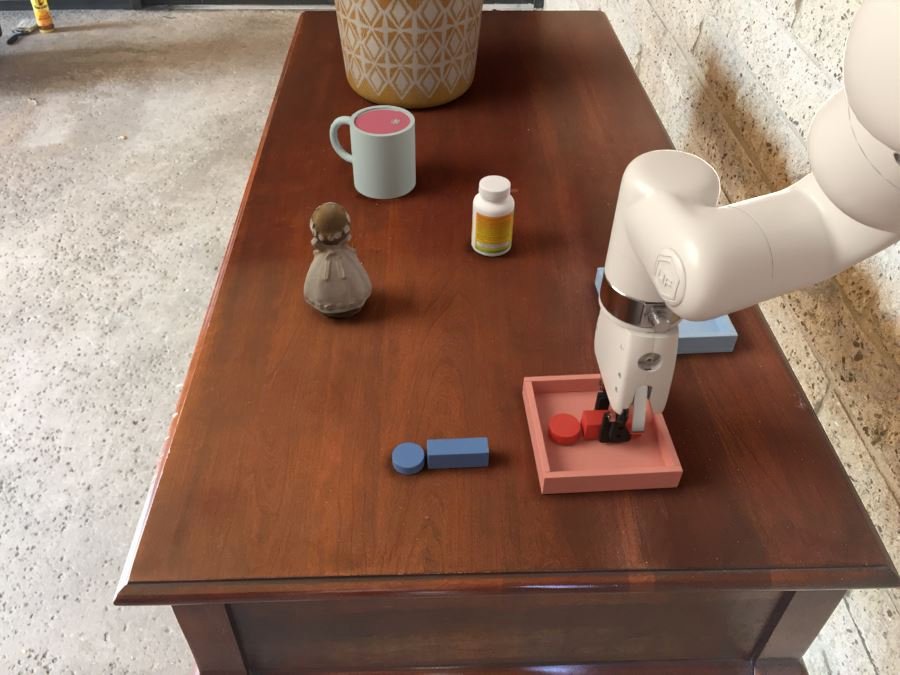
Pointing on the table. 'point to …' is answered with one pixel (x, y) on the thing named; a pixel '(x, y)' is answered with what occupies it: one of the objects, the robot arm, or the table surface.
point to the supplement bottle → (492, 217)
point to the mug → (380, 150)
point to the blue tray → (699, 332)
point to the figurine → (335, 266)
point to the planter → (409, 49)
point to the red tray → (594, 443)
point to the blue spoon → (441, 454)
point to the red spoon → (576, 426)
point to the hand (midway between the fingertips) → (610, 428)
